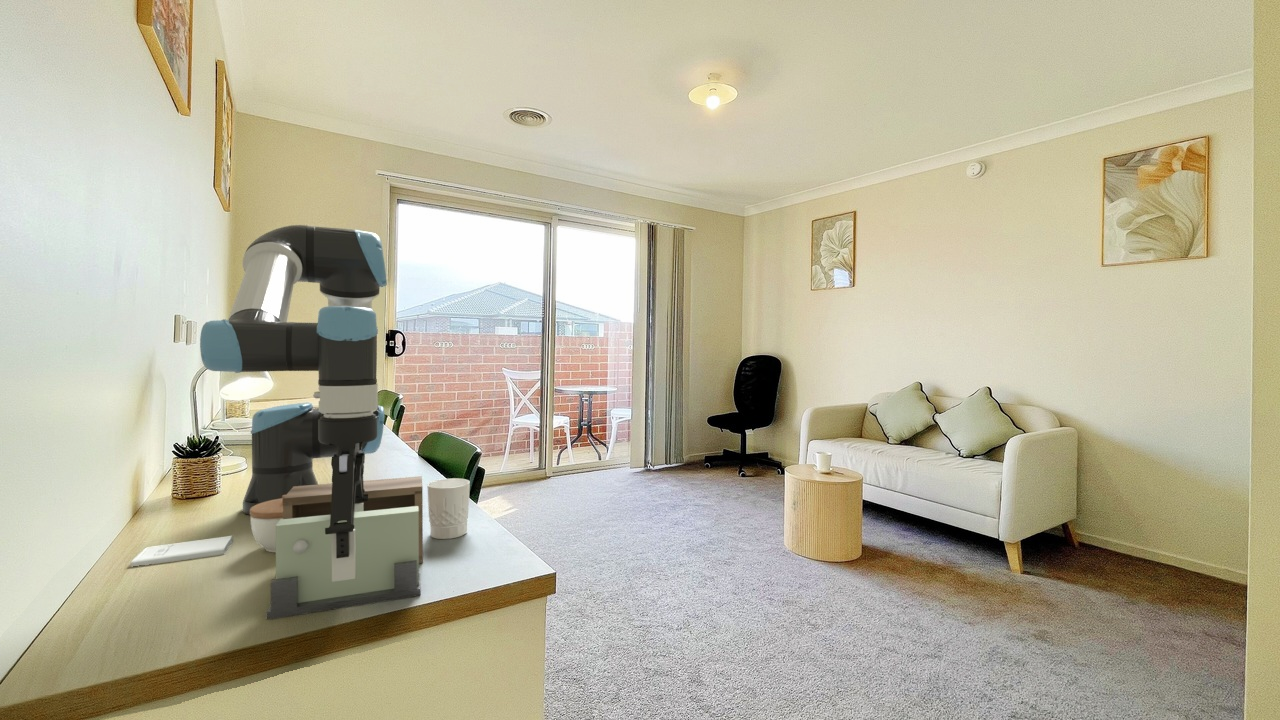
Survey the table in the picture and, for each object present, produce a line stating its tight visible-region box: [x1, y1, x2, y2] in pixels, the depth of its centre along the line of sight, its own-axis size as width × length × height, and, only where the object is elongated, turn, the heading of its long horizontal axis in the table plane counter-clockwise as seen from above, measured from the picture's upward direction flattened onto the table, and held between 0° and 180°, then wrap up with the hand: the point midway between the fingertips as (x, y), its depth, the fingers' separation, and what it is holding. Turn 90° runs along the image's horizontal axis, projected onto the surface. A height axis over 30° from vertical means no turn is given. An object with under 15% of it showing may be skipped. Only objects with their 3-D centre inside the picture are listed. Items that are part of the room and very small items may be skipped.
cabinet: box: [283, 475, 424, 564], centre depth 91 cm, size 8×20×13 cm, turn 113°
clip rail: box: [266, 560, 422, 621], centre depth 79 cm, size 6×19×5 cm, turn 113°
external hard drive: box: [130, 535, 234, 568], centre depth 96 cm, size 2×8×12 cm
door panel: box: [275, 506, 420, 603], centre depth 78 cm, size 18×4×11 cm, turn 113°
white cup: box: [426, 477, 471, 540], centre depth 106 cm, size 8×8×10 cm
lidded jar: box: [249, 495, 286, 553], centre depth 99 cm, size 11×11×9 cm
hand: (349, 561), depth 79 cm, fingers open, 13 cm apart
